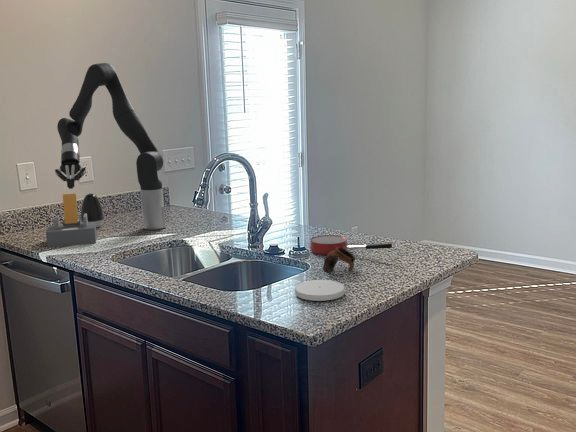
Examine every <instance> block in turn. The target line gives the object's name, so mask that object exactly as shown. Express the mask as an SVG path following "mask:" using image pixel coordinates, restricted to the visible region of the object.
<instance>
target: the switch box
mask: <svg viewBox="0 0 576 432" xmlns="http://www.w3.org/2000/svg"><path fill="white" fill-rule="evenodd" d="M83 220H84V223H82V222H80V225H71V226H63V223H62V224H61V223H60V217H59V215H55V216H54V219H53V223H54V224H51V225H50V224H49V225H48V228H47V230H45V236H46V246H47V248H53V247H55V248H56V247H65V246H66V247H67V246H76V245H77V246H78V245H87V244H96V242H97V237H98V235H97V234H98V233H97V228H96V222H88V220H87V213H86V214H84V216H83Z"/></svg>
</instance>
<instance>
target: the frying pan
mask: <svg viewBox="0 0 576 432" xmlns="http://www.w3.org/2000/svg"><path fill="white" fill-rule="evenodd" d="M337 247H338V248H342V249H344V250H346V251H347V252H348V250H361V249H363V250H364V249H365V250H374V249H375V250H376V249H377V250H378V249H392V247H393V243H391V242H390V243H372V244H369V243H368V244H364V245H348V239H347V237H345V236H341V235H334V234H331V235H330V234H328V235H318V236H313V237H311V238H310V252H311V251H312V252H313V254H314V253H316V254H315V255H318V254H321V255H320V256H327V255H328V254H329V252H331V251H333V250H335V249H336V248H337ZM312 252H311V253H312Z"/></svg>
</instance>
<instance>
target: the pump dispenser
mask: <svg viewBox="0 0 576 432" xmlns="http://www.w3.org/2000/svg"><path fill="white" fill-rule="evenodd" d="M104 212H105V211H104V210H103V206H102V204H101V201H100V199H99V197H98V196H97V194H96V193H88V194H86V195H85V196H84V197H83V200H82V203H81V208H80V222H81V223H84V220H83V216H84V214H86V213H87V220H88V222H96V229H98V228H100V227H101V226H103V224H104V221H105V213H104Z"/></svg>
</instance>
